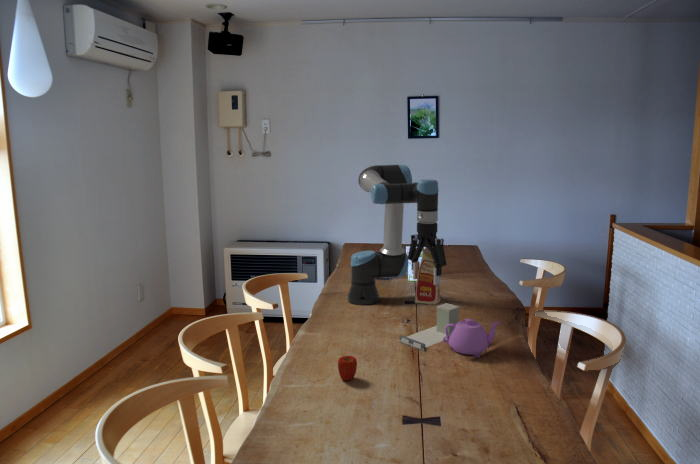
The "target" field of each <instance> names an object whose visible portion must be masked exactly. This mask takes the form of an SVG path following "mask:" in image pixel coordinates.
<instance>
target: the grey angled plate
mask: <svg viewBox="0 0 700 464" xmlns="http://www.w3.org/2000/svg"><path fill="white" fill-rule="evenodd" d="M436 329H437V325H435V326H432V327H429V328H427V329H424V330H421V331H418V332H416V333H413V334H411V335H408V336H405V335H399V339H398V340H399V343H400V344H403V345H405V346H408V347H410V348H413V349H416V350H419V351H421V352H426V351H427V349H426V348H428V347H431V346H433V345H435V344H438V343H441V342H443V338H444V337H445V336H446V334H443V333H440V332H437V331H436ZM449 336H450V335H449ZM446 337H447V336H446ZM445 340H446V341H447V338H445Z"/></svg>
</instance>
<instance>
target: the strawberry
mask: <svg viewBox="0 0 700 464" xmlns="http://www.w3.org/2000/svg"><path fill="white" fill-rule="evenodd" d="M357 368H358V362H357V359H356V357H355V356H352V355H345V356H344V355H343V356H341V357H339V358H338V360H337V369H338V374H339V377H340V379H341V380H342V381H343V382H344V381H345V382H346V381H350V380H351V381H352V380H353V379H354V377H355V375H356V373H357Z"/></svg>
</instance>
